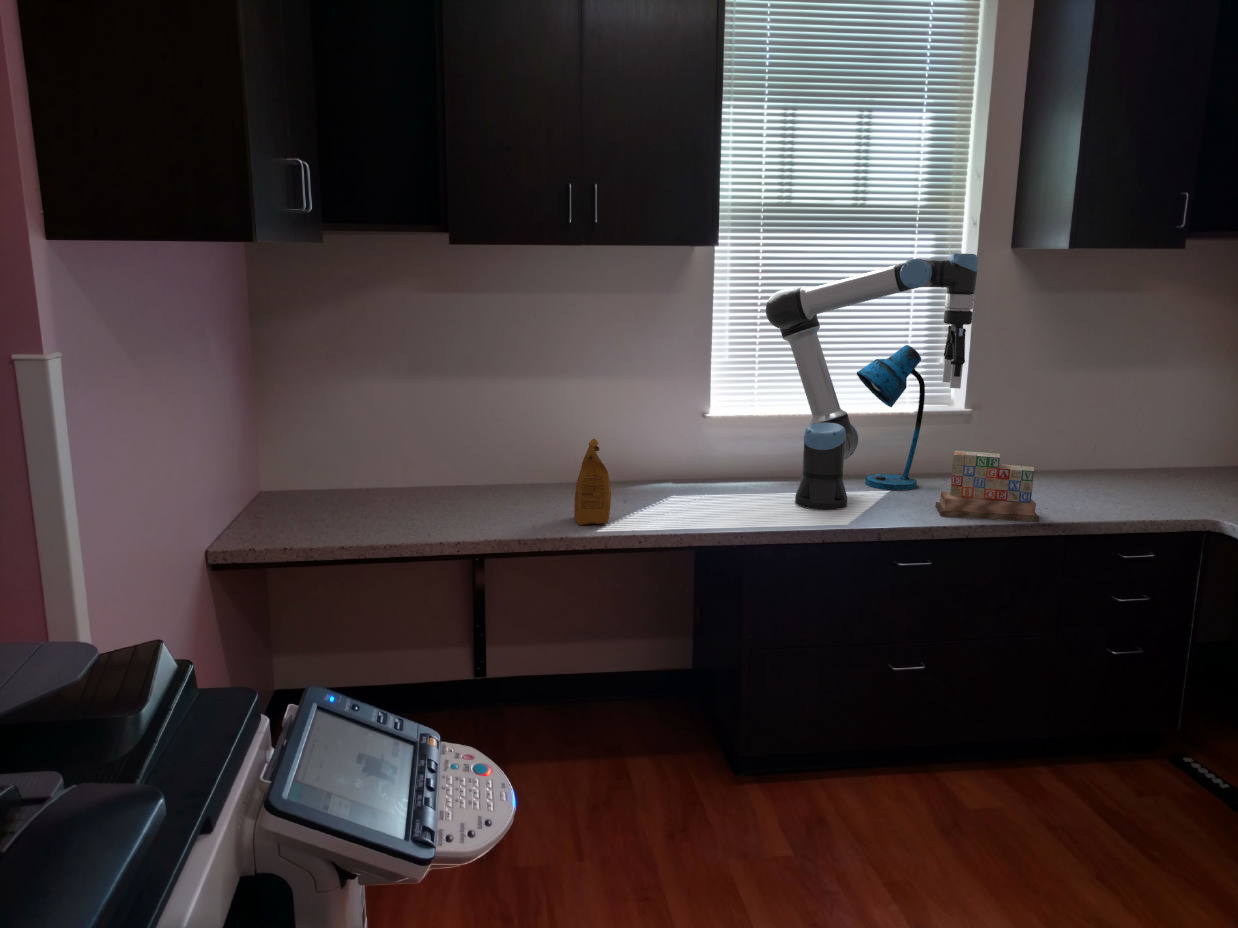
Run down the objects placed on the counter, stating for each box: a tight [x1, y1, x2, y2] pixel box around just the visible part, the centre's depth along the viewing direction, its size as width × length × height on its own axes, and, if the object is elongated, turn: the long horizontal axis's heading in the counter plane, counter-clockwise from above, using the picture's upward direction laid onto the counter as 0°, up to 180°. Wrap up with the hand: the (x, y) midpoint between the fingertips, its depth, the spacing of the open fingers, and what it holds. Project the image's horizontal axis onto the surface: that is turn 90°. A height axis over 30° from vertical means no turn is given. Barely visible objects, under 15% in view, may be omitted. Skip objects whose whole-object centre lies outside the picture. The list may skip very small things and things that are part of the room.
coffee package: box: [573, 437, 612, 526], centre depth 252 cm, size 10×12×22 cm
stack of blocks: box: [949, 450, 1035, 503], centre depth 264 cm, size 21×6×12 cm, turn 66°
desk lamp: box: [856, 344, 926, 491], centre depth 297 cm, size 16×22×45 cm
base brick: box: [934, 490, 1040, 523], centre depth 266 cm, size 26×11×5 cm, turn 80°
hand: (951, 385), depth 266 cm, fingers open, 13 cm apart
